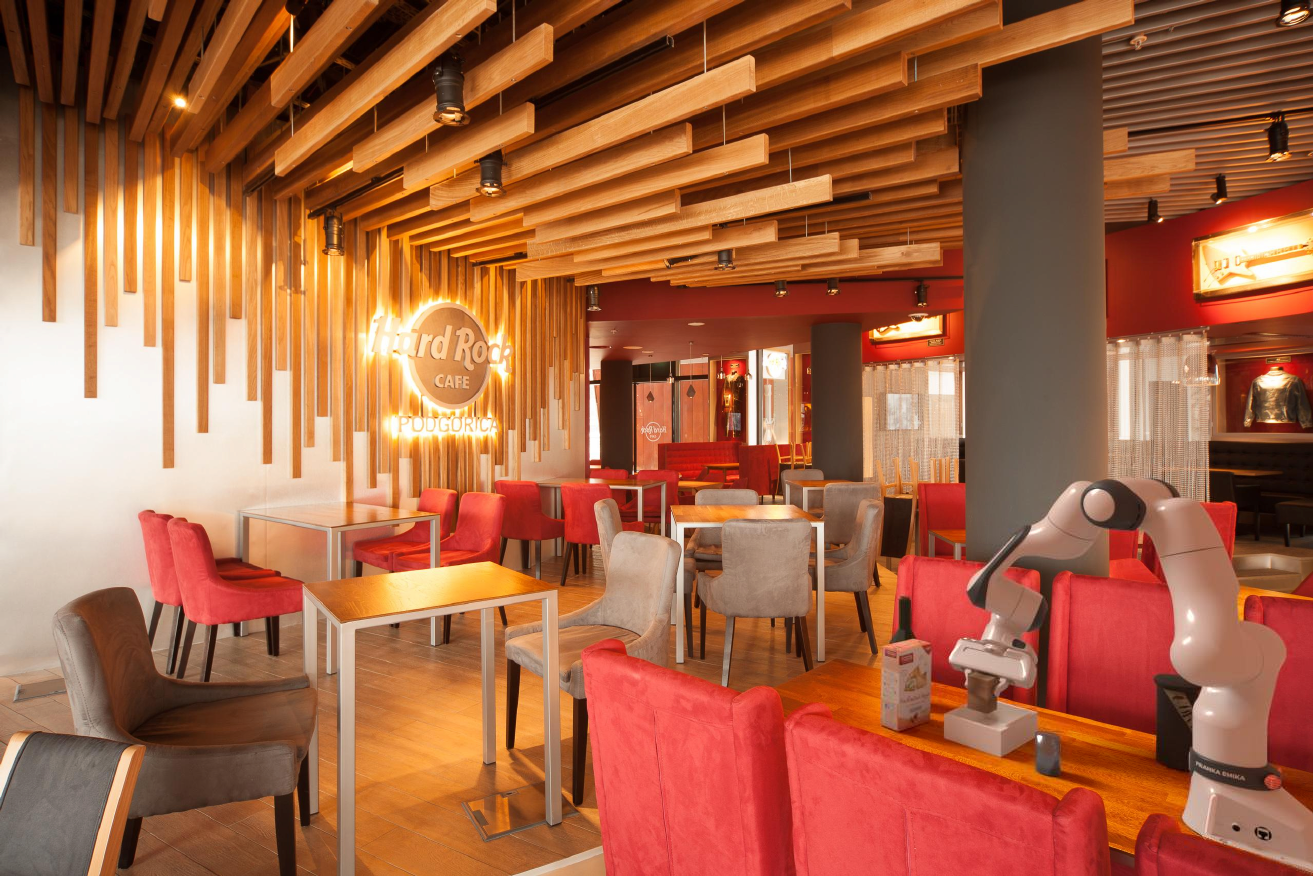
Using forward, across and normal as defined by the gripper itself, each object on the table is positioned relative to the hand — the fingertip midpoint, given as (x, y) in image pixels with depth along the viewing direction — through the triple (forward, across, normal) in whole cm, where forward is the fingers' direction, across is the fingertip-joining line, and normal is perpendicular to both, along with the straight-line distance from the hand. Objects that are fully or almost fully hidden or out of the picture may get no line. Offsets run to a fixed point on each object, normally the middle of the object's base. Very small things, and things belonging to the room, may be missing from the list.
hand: (980, 691), depth 174 cm
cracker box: (+12, -18, +6) cm, 22 cm away
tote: (+5, 0, +12) cm, 13 cm away
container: (-8, +34, +26) cm, 44 cm away
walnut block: (+3, 0, +4) cm, 4 cm away
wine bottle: (+2, -27, +16) cm, 31 cm away
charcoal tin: (+11, +17, +6) cm, 21 cm away
